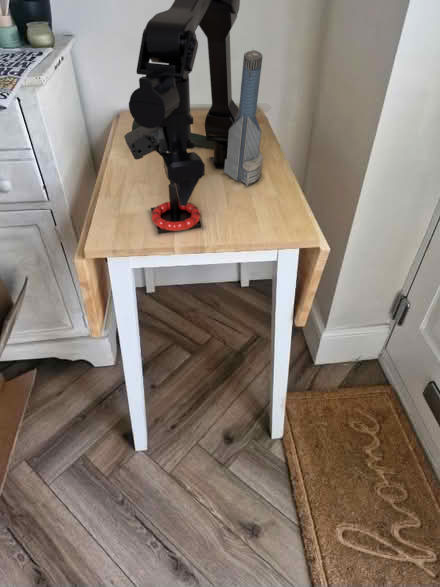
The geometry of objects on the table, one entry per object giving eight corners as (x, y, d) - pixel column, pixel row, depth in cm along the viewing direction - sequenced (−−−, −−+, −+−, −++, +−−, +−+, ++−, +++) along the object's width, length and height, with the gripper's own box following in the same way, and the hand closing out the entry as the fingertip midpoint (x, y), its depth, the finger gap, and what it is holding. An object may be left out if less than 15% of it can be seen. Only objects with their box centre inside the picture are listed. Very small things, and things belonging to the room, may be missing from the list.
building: (258, 187, 102) (277, 48, 81) (220, 182, 103) (230, 42, 82) (262, 167, 109) (280, 34, 88) (227, 163, 110) (237, 30, 89)
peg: (151, 211, 93) (147, 177, 88) (191, 206, 95) (190, 172, 90) (158, 234, 87) (154, 198, 81) (201, 227, 88) (200, 192, 83)
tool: (130, 147, 119) (126, 122, 114) (137, 137, 123) (134, 114, 119) (227, 155, 116) (228, 131, 111) (231, 146, 120) (232, 122, 116)
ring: (148, 210, 91) (147, 202, 90) (194, 204, 94) (193, 196, 92) (156, 235, 84) (155, 227, 83) (205, 228, 86) (205, 220, 85)
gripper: (118, 96, 77) (129, 178, 87) (132, 132, 63) (143, 224, 73) (179, 92, 79) (183, 172, 89) (205, 125, 65) (206, 215, 75)
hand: (177, 193), depth 82 cm, fingers open, 9 cm apart
